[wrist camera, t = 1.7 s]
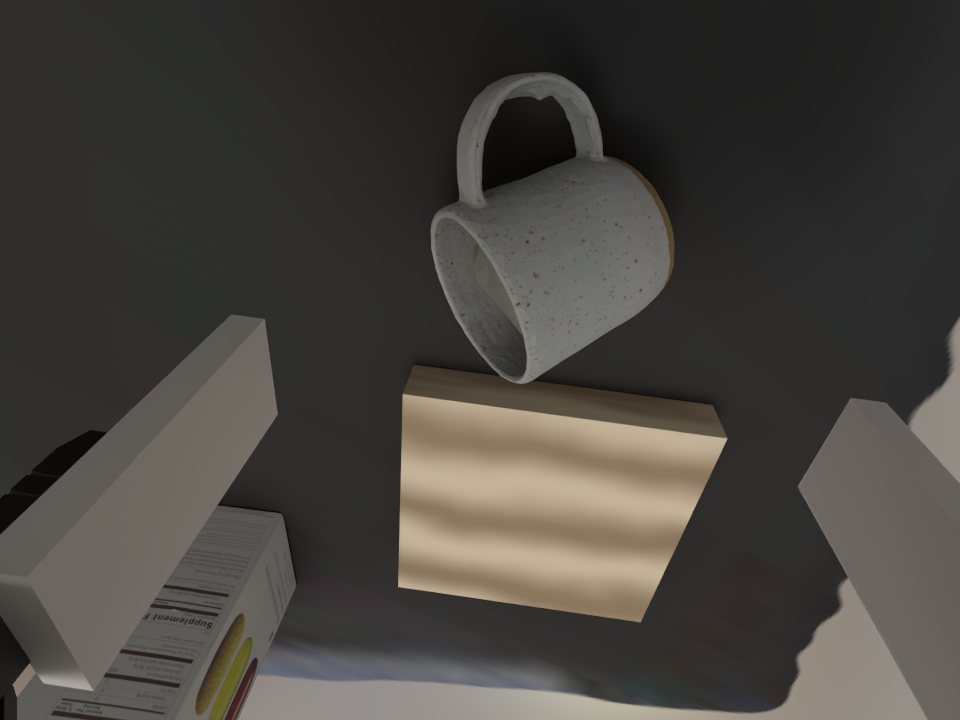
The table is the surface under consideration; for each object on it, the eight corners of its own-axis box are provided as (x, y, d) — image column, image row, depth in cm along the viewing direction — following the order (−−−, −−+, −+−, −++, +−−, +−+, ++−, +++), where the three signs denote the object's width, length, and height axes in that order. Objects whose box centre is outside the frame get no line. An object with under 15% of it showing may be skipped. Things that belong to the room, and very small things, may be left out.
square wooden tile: (413, 364, 32) (402, 394, 30) (712, 405, 32) (727, 438, 29) (406, 552, 42) (398, 586, 39) (634, 585, 42) (640, 622, 39)
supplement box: (299, 585, 46) (193, 838, 32) (195, 572, 46) (45, 816, 32) (283, 509, 41) (148, 772, 27) (166, 496, 41) (-28, 747, 27)
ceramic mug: (574, 244, 29) (674, 337, 25) (441, 307, 27) (523, 420, 23) (592, 29, 20) (749, 115, 16) (397, 99, 18) (517, 218, 14)
